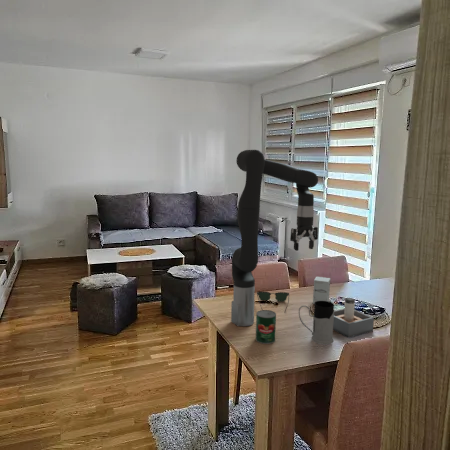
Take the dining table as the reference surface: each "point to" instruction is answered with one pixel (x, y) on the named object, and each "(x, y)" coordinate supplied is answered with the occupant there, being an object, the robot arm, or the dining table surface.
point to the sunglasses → (279, 297)
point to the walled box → (352, 323)
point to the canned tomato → (265, 326)
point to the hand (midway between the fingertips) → (303, 249)
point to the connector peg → (349, 309)
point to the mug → (322, 322)
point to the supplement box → (321, 289)
